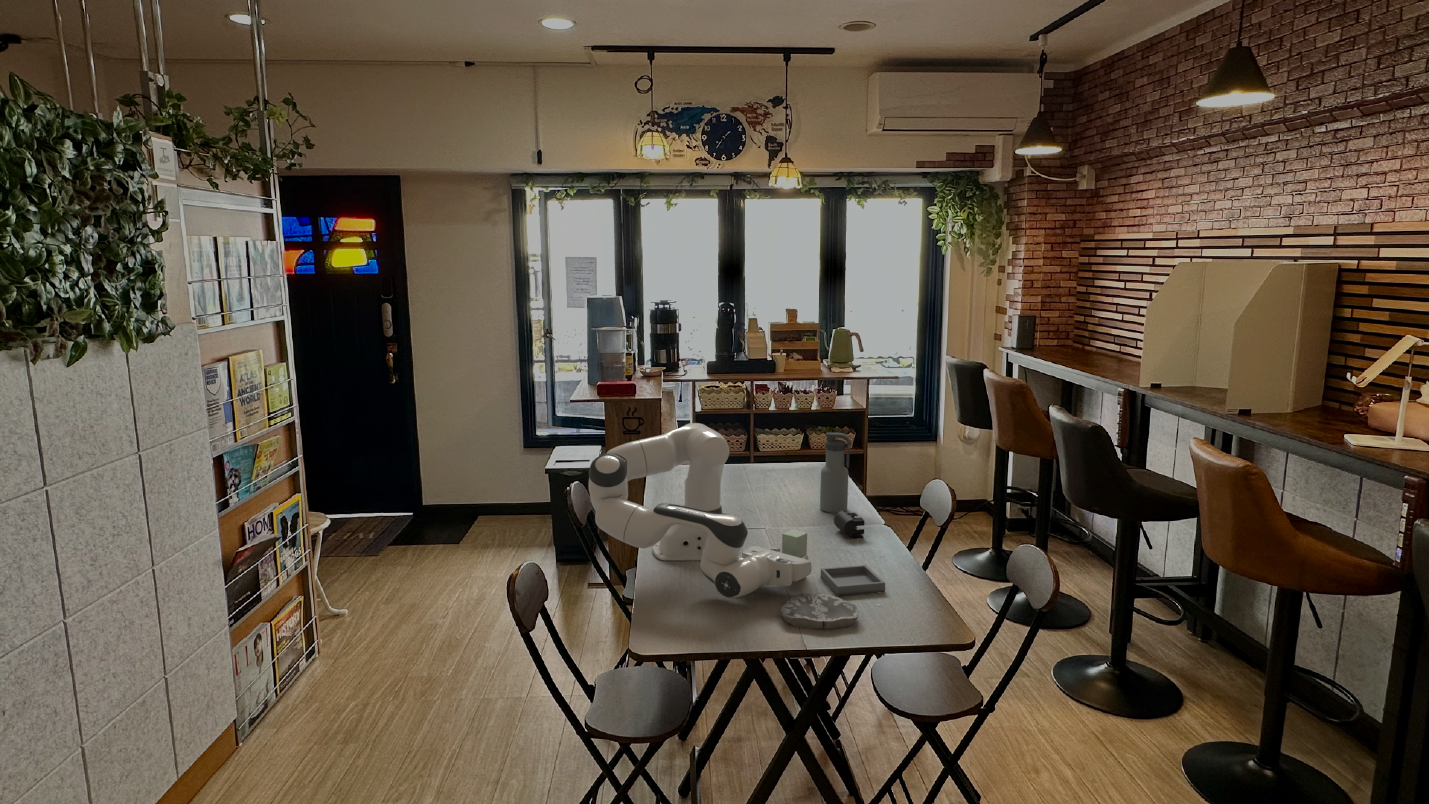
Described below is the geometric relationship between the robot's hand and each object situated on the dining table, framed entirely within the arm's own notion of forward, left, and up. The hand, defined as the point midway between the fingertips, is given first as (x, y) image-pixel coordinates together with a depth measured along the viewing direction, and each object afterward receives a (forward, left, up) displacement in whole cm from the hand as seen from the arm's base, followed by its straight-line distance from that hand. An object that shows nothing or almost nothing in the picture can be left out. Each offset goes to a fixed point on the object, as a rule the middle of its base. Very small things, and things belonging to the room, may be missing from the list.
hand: (792, 554), depth 237 cm
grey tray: (+15, -8, -7) cm, 19 cm away
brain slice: (-1, -25, -8) cm, 27 cm away
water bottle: (+35, +60, -8) cm, 70 cm away
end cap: (+30, +33, -8) cm, 46 cm away
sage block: (+1, +1, -7) cm, 8 cm away
